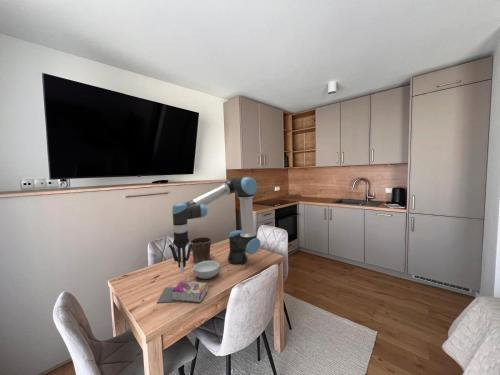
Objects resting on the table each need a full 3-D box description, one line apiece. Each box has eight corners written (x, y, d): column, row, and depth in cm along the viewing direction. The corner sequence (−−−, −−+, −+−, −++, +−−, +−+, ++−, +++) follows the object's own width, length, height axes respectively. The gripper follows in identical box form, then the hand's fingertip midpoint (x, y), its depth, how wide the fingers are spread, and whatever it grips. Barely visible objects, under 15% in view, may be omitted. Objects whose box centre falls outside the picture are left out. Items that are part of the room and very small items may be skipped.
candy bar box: (181, 280, 120) (208, 282, 117) (181, 288, 120) (208, 290, 117) (170, 290, 109) (200, 293, 106) (171, 300, 109) (200, 303, 106)
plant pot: (187, 264, 152) (186, 243, 151) (195, 256, 168) (194, 236, 167) (208, 265, 150) (207, 244, 149) (214, 256, 166) (213, 237, 165)
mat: (202, 285, 123) (202, 284, 123) (199, 300, 109) (199, 299, 109) (165, 288, 121) (165, 287, 121) (156, 303, 107) (156, 302, 107)
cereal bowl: (223, 271, 142) (223, 261, 141) (214, 283, 125) (213, 272, 125) (200, 269, 145) (200, 259, 145) (188, 281, 129) (188, 270, 128)
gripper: (193, 229, 117) (195, 268, 119) (170, 230, 116) (172, 270, 118) (191, 232, 110) (193, 275, 111) (166, 234, 108) (168, 276, 110)
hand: (182, 272), depth 114 cm, fingers closed
